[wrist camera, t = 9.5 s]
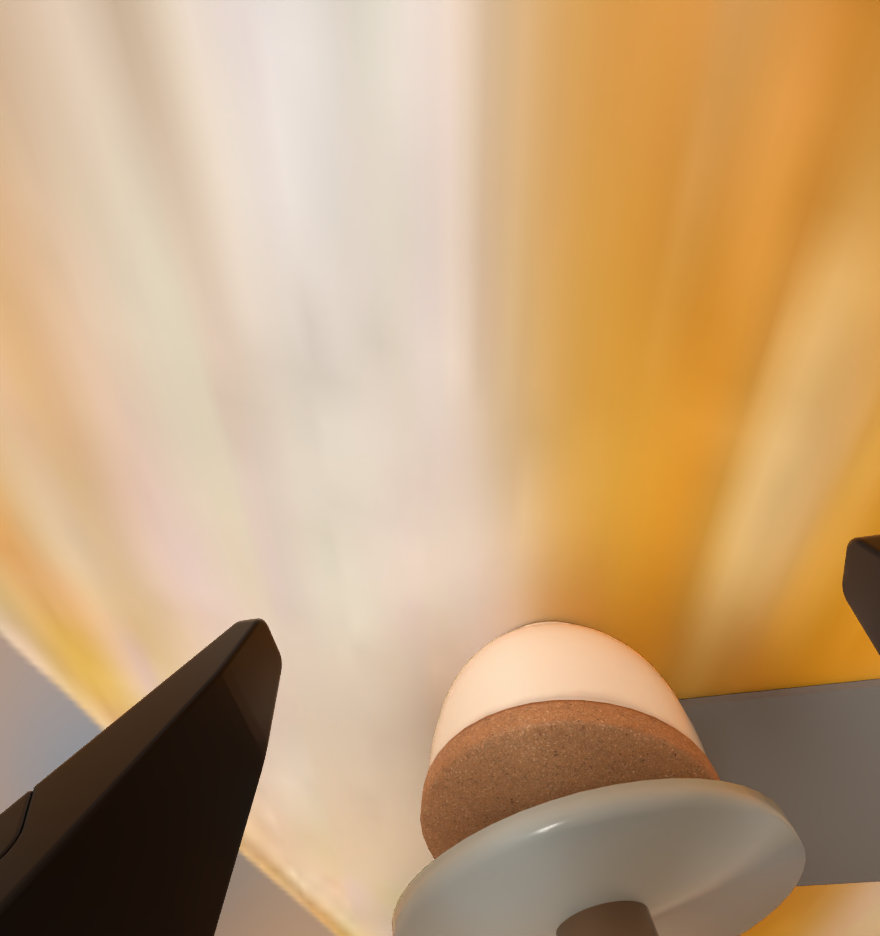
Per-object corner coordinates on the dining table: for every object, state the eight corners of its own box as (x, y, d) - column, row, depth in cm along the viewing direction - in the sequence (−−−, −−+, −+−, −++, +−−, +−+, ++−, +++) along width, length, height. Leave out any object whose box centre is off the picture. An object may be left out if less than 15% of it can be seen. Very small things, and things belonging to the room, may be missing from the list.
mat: (951, 671, 26) (958, 678, 25) (900, 872, 32) (905, 879, 32) (597, 708, 28) (599, 714, 27) (619, 889, 34) (621, 896, 34)
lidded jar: (587, 779, 29) (626, 1010, 21) (402, 700, 28) (363, 910, 19) (716, 640, 25) (834, 858, 16) (505, 539, 24) (513, 718, 15)
